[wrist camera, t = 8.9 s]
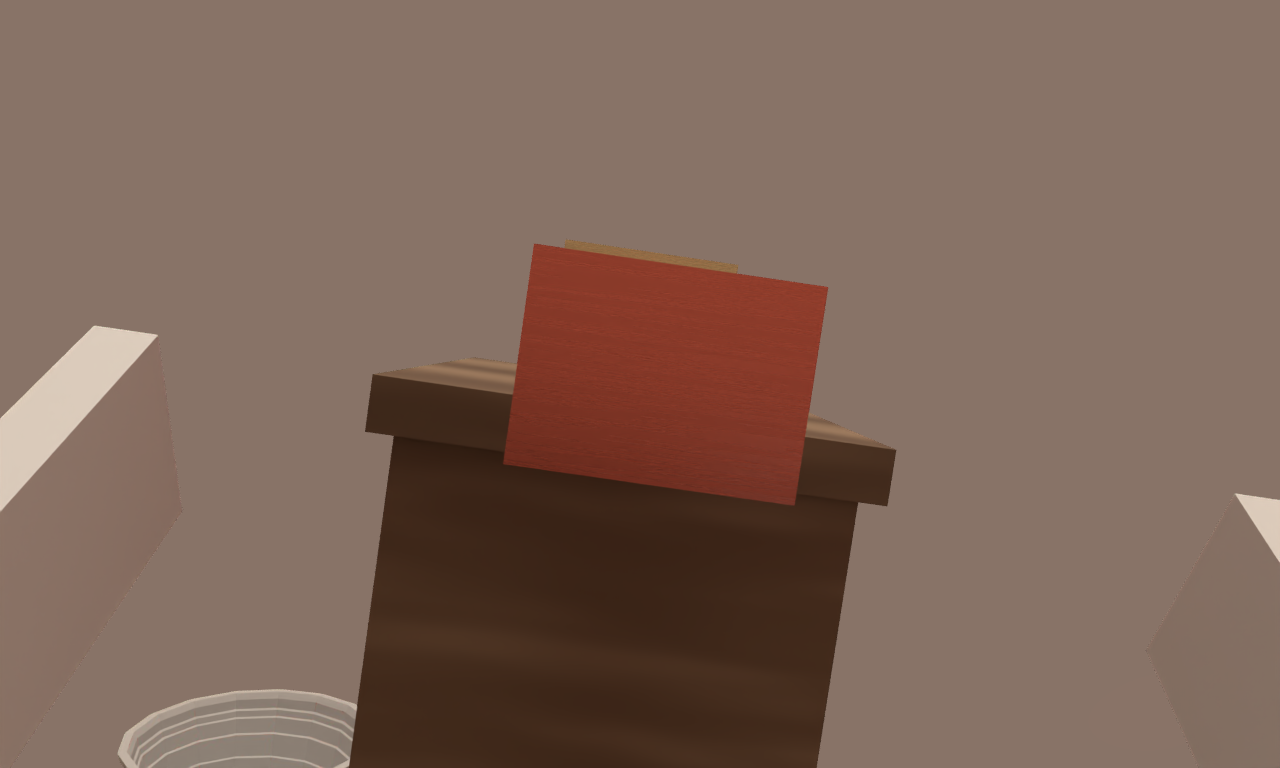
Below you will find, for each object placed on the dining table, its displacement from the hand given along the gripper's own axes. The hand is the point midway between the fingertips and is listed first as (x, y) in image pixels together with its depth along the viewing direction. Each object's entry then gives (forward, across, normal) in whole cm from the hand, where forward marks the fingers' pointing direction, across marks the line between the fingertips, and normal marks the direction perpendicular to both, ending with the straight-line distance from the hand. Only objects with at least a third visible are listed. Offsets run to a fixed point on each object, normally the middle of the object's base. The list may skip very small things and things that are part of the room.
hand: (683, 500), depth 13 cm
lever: (+9, -1, -5) cm, 10 cm away
